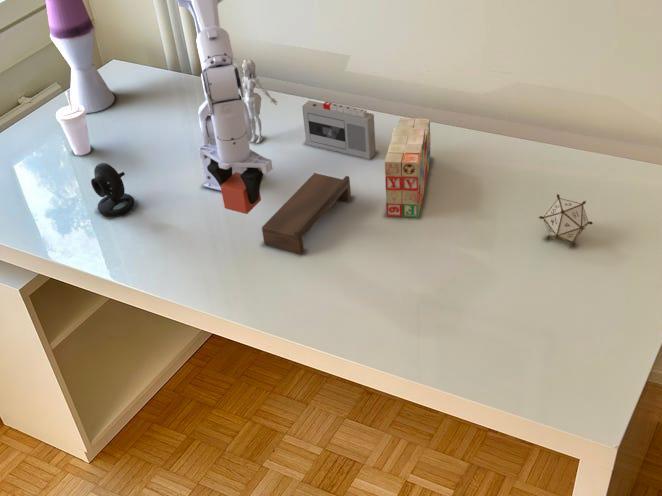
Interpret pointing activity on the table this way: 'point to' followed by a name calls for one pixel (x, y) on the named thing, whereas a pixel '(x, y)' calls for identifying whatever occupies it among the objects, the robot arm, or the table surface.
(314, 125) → the cassette player
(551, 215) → the game die
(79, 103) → the lamp
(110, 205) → the webcam
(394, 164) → the stack of blocks
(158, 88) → the table surface
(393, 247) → the table surface
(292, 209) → the shelf
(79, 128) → the smoothie
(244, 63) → the human figurine
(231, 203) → the block
